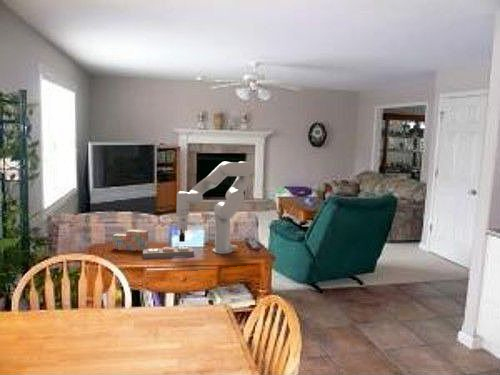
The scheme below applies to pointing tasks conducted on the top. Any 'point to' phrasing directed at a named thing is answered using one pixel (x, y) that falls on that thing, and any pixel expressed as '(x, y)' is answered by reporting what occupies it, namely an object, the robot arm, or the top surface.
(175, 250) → the tile panel
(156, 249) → the tile one
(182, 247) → the tile two
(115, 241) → the stack of blocks
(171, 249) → the tile three
